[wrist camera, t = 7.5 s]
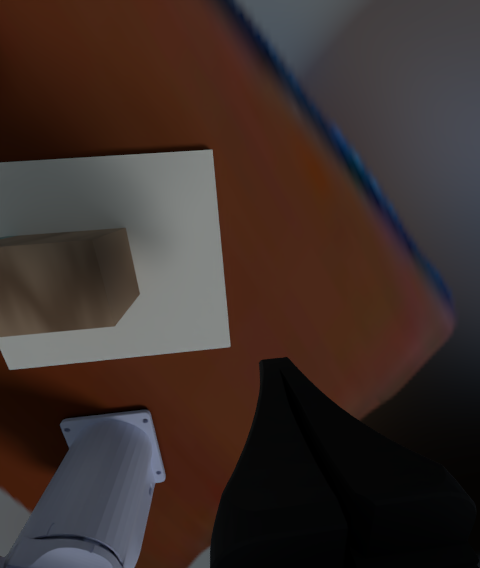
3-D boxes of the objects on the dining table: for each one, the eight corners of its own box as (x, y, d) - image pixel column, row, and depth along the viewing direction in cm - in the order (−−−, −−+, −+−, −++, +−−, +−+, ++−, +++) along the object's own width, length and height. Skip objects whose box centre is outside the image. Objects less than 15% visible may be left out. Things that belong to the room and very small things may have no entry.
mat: (230, 343, 22) (230, 347, 21) (15, 365, 21) (9, 369, 20) (212, 151, 17) (212, 149, 16) (-73, 168, 16) (-84, 167, 15)
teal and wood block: (114, 326, 15) (-32, 340, 14) (139, 294, 19) (30, 303, 19) (92, 239, 13) (-76, 252, 12) (125, 227, 18) (5, 236, 17)
